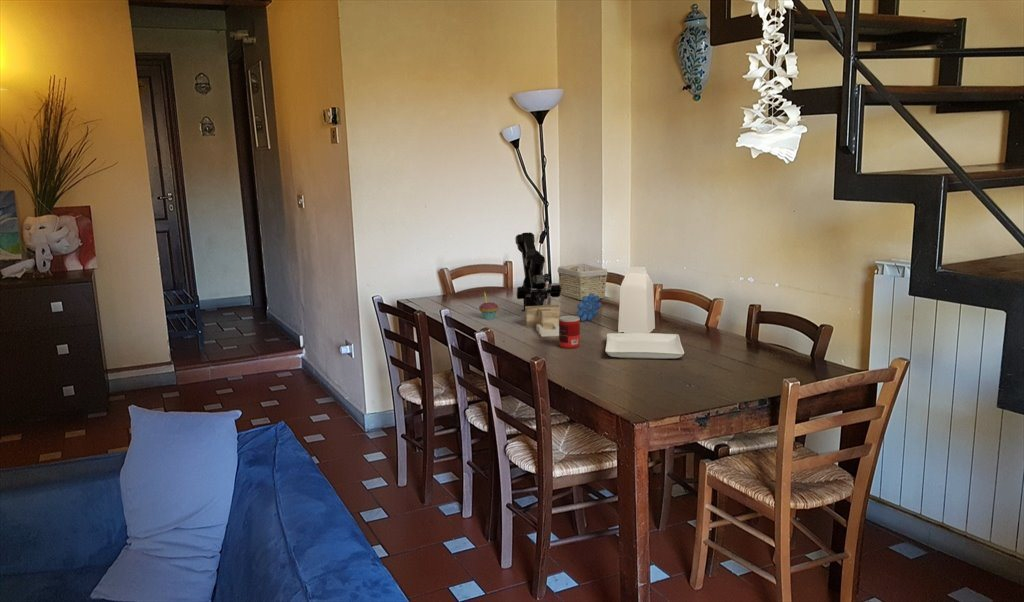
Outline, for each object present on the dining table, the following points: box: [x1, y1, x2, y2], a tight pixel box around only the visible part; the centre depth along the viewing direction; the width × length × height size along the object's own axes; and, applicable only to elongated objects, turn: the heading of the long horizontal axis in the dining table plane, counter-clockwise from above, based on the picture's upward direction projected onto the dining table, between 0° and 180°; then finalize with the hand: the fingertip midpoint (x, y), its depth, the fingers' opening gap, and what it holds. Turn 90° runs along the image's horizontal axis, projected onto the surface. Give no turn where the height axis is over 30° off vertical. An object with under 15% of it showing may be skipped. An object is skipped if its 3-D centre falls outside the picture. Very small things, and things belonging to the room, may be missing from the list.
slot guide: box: [536, 323, 559, 337], centre depth 306 cm, size 12×8×2 cm
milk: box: [617, 265, 656, 333], centre depth 305 cm, size 12×12×26 cm
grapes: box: [576, 293, 602, 322], centre depth 325 cm, size 12×7×12 cm, turn 113°
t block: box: [524, 304, 561, 330], centre depth 314 cm, size 14×14×8 cm
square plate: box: [604, 332, 685, 360], centre depth 276 cm, size 27×27×4 cm
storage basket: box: [557, 263, 608, 301], centre depth 379 cm, size 24×16×15 cm
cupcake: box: [479, 291, 499, 320], centre depth 335 cm, size 9×8×12 cm
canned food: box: [558, 315, 581, 350], centre depth 283 cm, size 8×8×11 cm
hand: (541, 308), depth 321 cm, fingers closed, pressing on t block
